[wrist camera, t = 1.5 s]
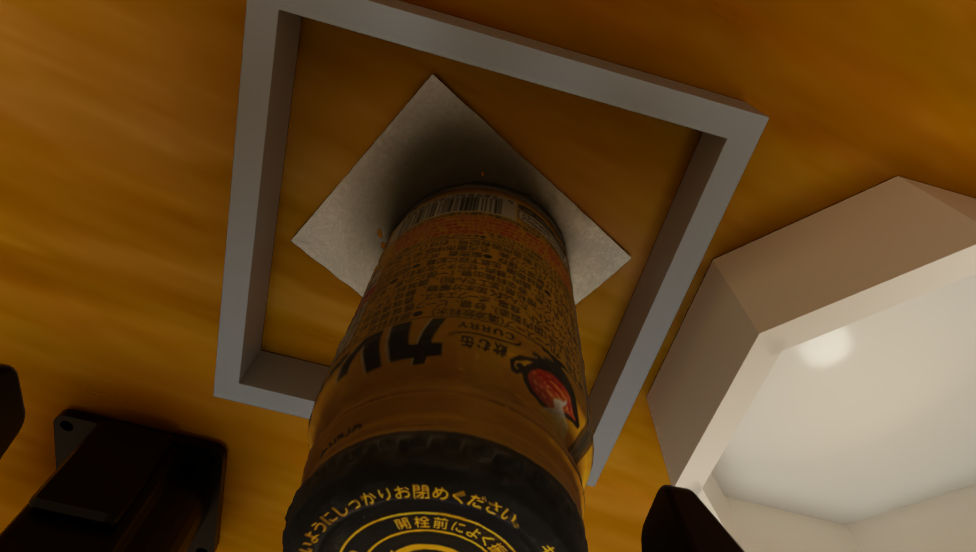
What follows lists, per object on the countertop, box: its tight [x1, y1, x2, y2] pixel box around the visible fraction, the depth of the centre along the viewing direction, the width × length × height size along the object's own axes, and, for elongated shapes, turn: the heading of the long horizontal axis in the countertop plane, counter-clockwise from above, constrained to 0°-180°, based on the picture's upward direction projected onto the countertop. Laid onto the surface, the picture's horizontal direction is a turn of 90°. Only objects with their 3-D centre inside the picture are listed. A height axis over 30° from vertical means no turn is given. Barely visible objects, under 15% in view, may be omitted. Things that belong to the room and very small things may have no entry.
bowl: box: [647, 176, 976, 552], centre depth 20 cm, size 14×14×4 cm
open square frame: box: [213, 0, 769, 487], centre depth 20 cm, size 14×14×2 cm
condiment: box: [282, 74, 631, 552], centre depth 16 cm, size 7×8×12 cm
